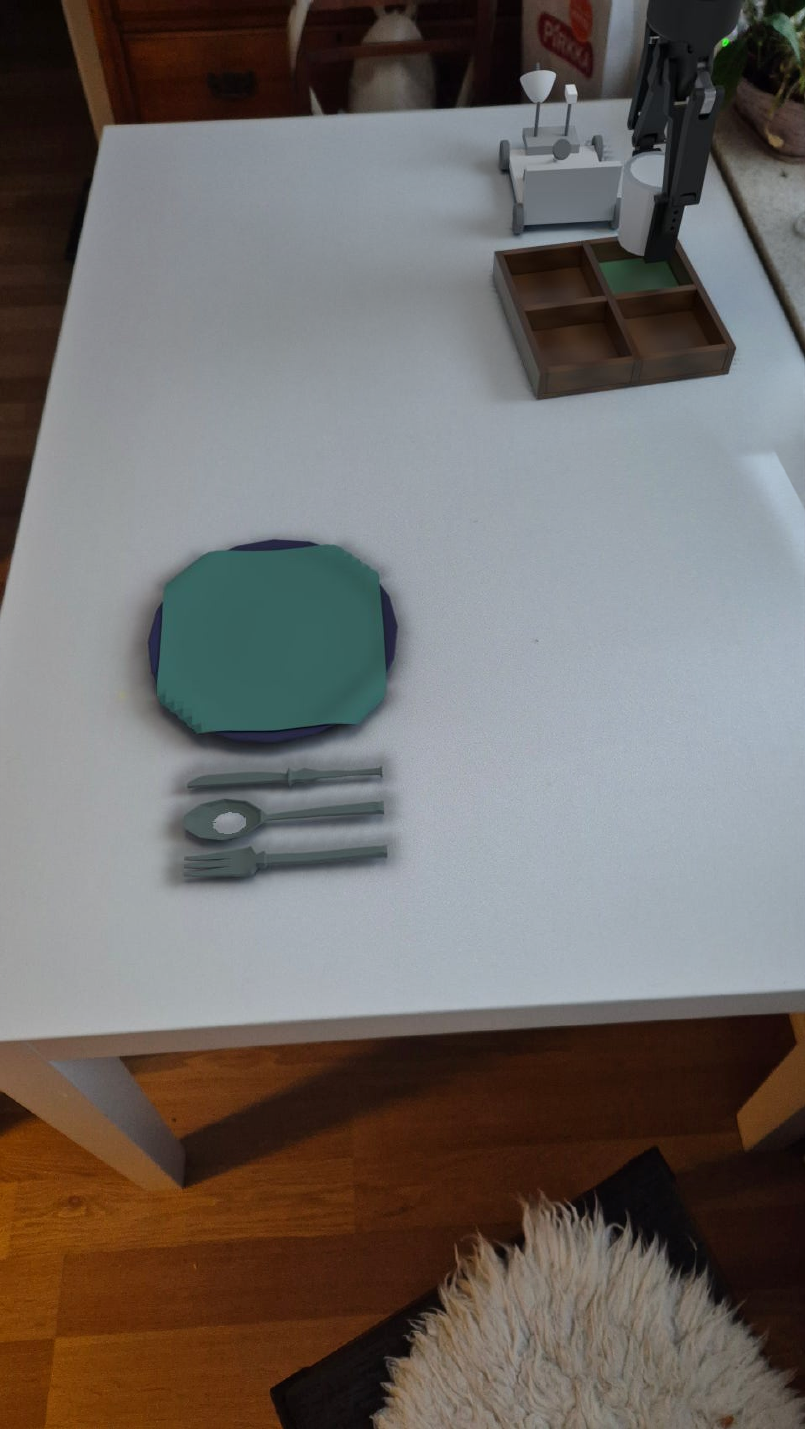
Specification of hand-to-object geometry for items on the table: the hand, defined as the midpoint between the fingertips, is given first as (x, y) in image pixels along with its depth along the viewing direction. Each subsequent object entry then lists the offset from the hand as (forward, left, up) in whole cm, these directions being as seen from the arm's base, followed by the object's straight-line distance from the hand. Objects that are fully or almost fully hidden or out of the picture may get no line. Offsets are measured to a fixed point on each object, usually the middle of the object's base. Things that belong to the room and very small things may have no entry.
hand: (646, 236), depth 100 cm
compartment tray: (+5, +5, -6) cm, 9 cm away
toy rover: (+3, -19, -6) cm, 21 cm away
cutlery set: (+43, +44, -6) cm, 61 cm away
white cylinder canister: (0, 0, -1) cm, 1 cm away
